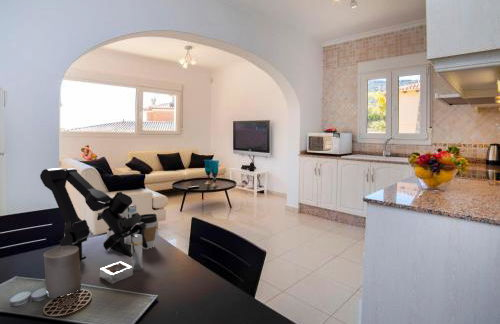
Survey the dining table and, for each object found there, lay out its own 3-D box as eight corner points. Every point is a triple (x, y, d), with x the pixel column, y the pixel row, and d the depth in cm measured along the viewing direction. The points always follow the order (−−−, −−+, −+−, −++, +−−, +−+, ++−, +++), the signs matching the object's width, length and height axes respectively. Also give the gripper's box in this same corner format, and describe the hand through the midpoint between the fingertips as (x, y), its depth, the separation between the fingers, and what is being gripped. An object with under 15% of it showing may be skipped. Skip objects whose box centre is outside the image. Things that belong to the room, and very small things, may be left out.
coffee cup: (153, 250, 130) (153, 218, 129) (134, 250, 130) (134, 217, 129) (159, 243, 139) (159, 213, 137) (142, 243, 139) (141, 212, 138)
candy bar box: (137, 236, 148) (136, 205, 146) (129, 239, 143) (128, 207, 142) (122, 232, 153) (121, 202, 152) (113, 235, 149) (113, 204, 147)
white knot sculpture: (111, 253, 127) (111, 233, 126) (103, 245, 136) (102, 226, 135) (137, 246, 134) (137, 228, 134) (127, 239, 143) (127, 222, 143)
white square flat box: (100, 276, 105) (99, 268, 105) (120, 269, 112) (120, 261, 112) (112, 283, 101) (112, 275, 101) (133, 275, 107) (132, 266, 107)
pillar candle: (74, 280, 102) (72, 239, 101) (85, 290, 96) (83, 246, 95) (41, 292, 95) (38, 247, 93) (51, 303, 89) (49, 255, 87)
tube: (129, 269, 112) (128, 236, 111) (138, 265, 115) (138, 233, 114) (135, 272, 110) (134, 238, 109) (144, 268, 113) (144, 235, 112)
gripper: (109, 214, 103) (136, 248, 101) (142, 202, 121) (165, 231, 119) (91, 233, 106) (117, 266, 104) (126, 219, 123) (149, 247, 121)
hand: (139, 251), depth 112 cm, fingers open, 9 cm apart
